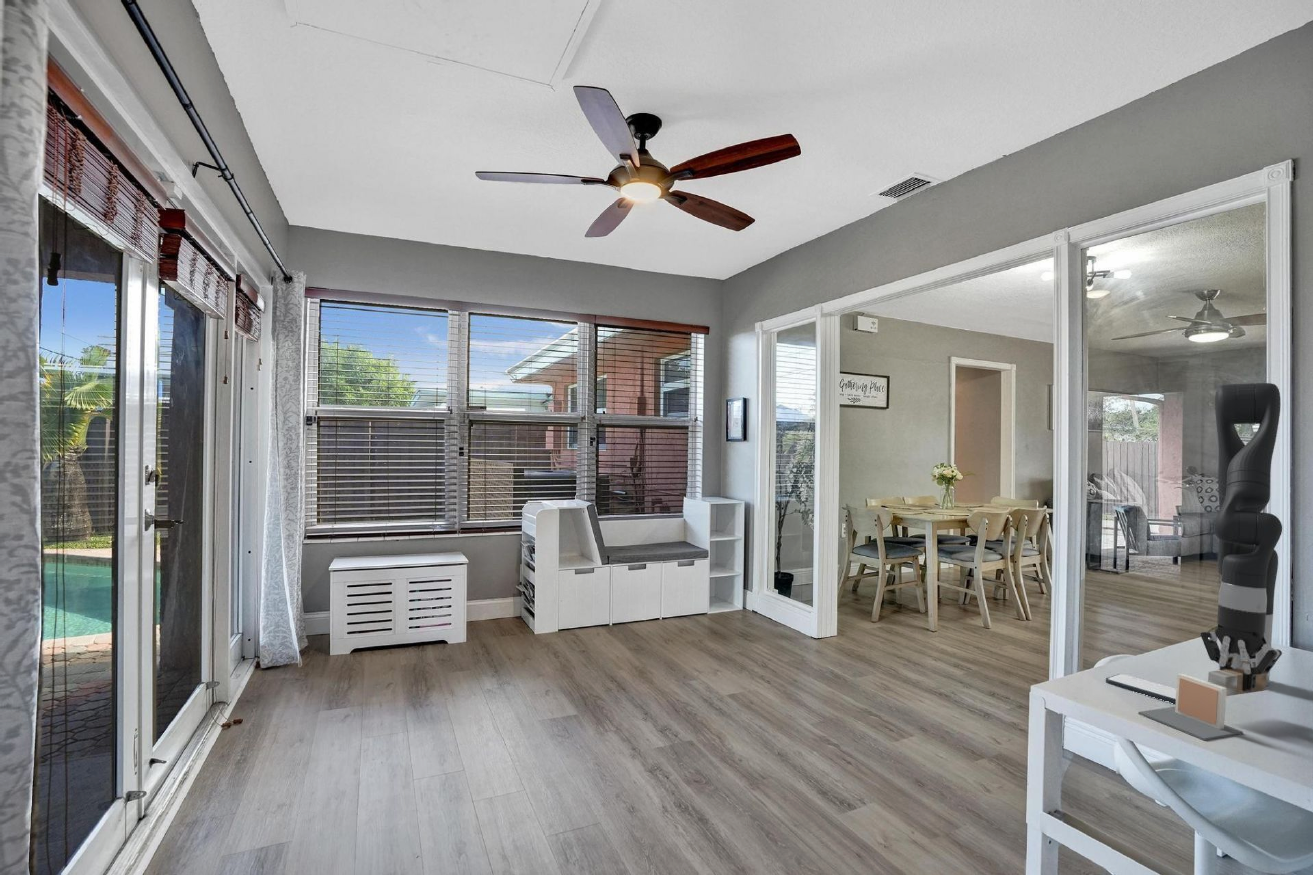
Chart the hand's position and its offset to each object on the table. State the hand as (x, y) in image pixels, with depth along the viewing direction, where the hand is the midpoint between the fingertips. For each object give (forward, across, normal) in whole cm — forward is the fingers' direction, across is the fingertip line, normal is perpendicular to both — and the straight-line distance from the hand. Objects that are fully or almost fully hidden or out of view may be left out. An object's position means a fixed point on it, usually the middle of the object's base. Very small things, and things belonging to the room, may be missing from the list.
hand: (1236, 687), depth 138 cm
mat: (+6, 0, +15) cm, 16 cm away
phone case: (+7, +14, +4) cm, 16 cm away
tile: (+6, 0, +12) cm, 13 cm away
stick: (+1, 0, 0) cm, 1 cm away
